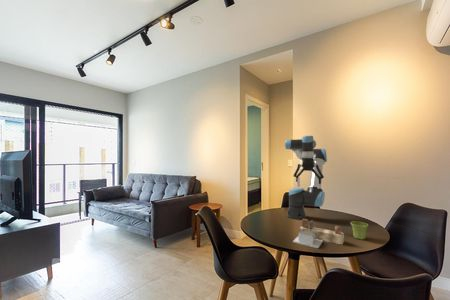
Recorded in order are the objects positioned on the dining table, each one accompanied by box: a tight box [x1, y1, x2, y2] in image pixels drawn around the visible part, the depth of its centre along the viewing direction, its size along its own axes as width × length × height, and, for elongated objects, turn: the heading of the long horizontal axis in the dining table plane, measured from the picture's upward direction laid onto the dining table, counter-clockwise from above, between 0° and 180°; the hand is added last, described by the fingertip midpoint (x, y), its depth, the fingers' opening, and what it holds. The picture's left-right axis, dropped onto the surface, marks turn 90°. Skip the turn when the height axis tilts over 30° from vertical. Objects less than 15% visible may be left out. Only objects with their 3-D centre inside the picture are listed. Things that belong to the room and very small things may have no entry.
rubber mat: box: [292, 236, 324, 249], centre depth 129 cm, size 14×11×1 cm
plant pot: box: [350, 221, 369, 240], centre depth 136 cm, size 9×9×9 cm
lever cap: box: [297, 229, 317, 245], centre depth 129 cm, size 9×8×6 cm
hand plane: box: [299, 218, 345, 246], centre depth 135 cm, size 24×6×10 cm, turn 54°
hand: (308, 187), depth 155 cm, fingers open, 13 cm apart
